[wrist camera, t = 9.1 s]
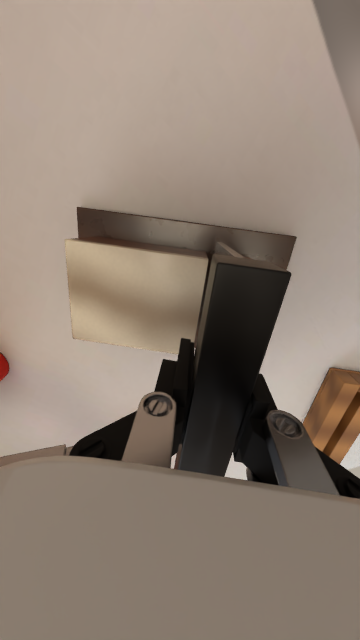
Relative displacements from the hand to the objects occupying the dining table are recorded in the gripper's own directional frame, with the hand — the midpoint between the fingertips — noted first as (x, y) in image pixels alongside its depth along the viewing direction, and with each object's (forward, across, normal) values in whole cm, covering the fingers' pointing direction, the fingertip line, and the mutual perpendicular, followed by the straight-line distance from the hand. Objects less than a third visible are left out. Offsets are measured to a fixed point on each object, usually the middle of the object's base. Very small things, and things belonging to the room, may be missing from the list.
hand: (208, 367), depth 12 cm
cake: (+15, +4, 0) cm, 15 cm away
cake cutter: (+7, 0, 0) cm, 7 cm away
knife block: (+15, -20, +15) cm, 29 cm away
